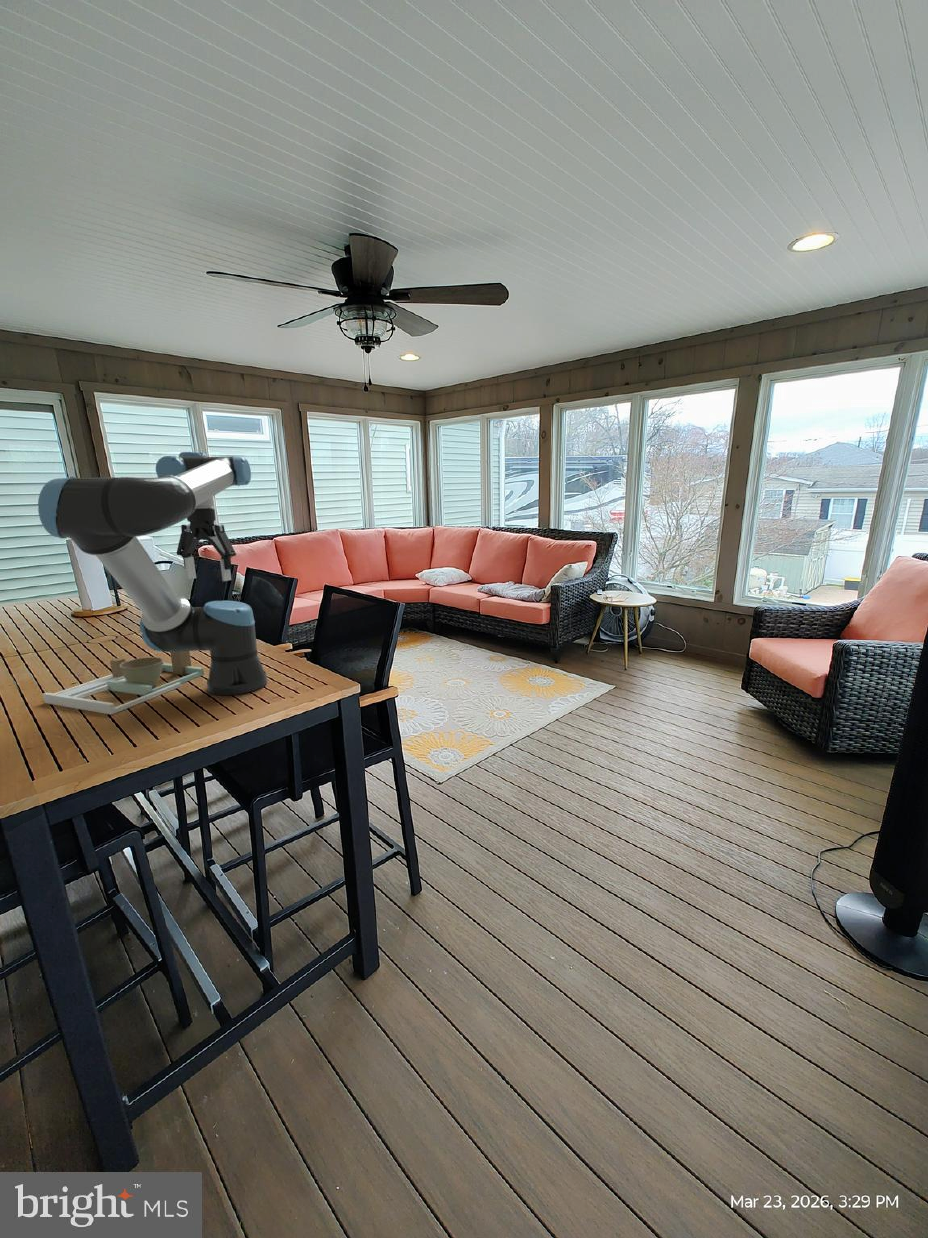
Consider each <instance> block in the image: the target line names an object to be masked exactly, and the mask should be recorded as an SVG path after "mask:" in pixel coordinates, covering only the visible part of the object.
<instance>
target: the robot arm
mask: <svg viewBox="0 0 928 1238" xmlns="http://www.w3.org/2000/svg"><path fill="white" fill-rule="evenodd" d="M155 473H156V475H157V477H133V476H132V477H130V476H121V477H117V476H115V477H112V476H110V477H76V476H68V477H61V478H53V479H51V480H49V481H47V482H46V483H45V484H44V485H43V487H42V488H41V491H40V492H39V496H38V501H37V506H38V508H37V512H38V516H39V520H40V522H41V525H42V526H43V528H44V529H45V531H46V532H47V533H48V534H49V535H51V536H52V537H55V538H59V539H67V538H69V539H70V540H72V542H74V544H75V545H76V546H77V547H78V548H79V549H80V551H81V552H82V553H85V554H87V555H91V556H96V557H97V559H98V560H99V561H100V563H101V564H102V565H103V566H104V568H106V570H107V571H108V573H109V574H110V575H111V576H112V577H113V579H114V580H115V581H116V583H117V584H118V585H119V586H120V587H121V589H123V591H124V592H125V593H126V595H127V596H128V597H129V598H130V599H131V601H132V603H134V604H135V605H136V607H137V608H138V609H139V610H140V611H141V613H142V615H141V617H140V618H141V619H140V620H139V632H140V633H142V634H141V638H142V641H143V642H144V643H145V645H146V646H147V647H149V648H150V649H151V650H154V651H157V652H166V653H170V652H174V651H189V652H195V651H197V652H198V651H199V652H200V651H203V652H204V651H208V652H209V654H210V655H209V656H210V661H211V662H210V667H209V674H208V678H207V679H206V687H207V692H208V693H210V694H212V695H216V696H235V695H236V696H237V695H243V694H246V693H251V692H254V691H257V690H259V689H261V688H263V687H265V686H266V685H267V684H268V676H267V675H268V674H267V672H266V671H265V670H264V668H263V665H262V662H261V660H260V658H259V653H258V646H257V637H256V635H257V634H256V627H255V626H256V625H255V623H256V620H255V618H254V612H253V609H252V607H251V605H249V604H247V603H246V602H245V603H244V602H242V601H241V602H240V601H236V600H211V601H208V602H206V603H205V604H204V605H203V607H201V606H199V607H198V606H197V607H193V606H192V605H191V603H190V602H189V600H188V598H186V597H185V596H182V595H178V594H176V592H175V591H174V590H173V588H172V587H171V585H170V584H169V582H168V580H166V578H165V576H164V575H163V574H162V572H161V571H160V569H159V568H158V566H157V565H156V564H155V562H154V561H153V559H152V558H151V556H150V555H149V553H148V552H147V551H146V549H145V548H144V546H143V545H142V544H141V542H140V540H139V539H138V538H137V537H142V536H147V535H150V534H154V533H157V532H160V531H163V530H166V529H167V528H171V527H172V526H175V525H177V524H179V523H181V522H183V521H184V520H186V521H187V522H189V524H187V523H186V524H181V526H180V527H181V533H180V537H179V540H178V544H177V549H176V555H177V556H180V557H182V559H183V566H184V568H185V573H186V580H193V579H197V573H196V567H195V559H194V558H195V557H194V556H193V555H192V554H193V553H194V551H195V549H196V547H197V545H198V544H199V541H202V540H203V541H207V542H209V543H210V544H211V545H212V546H213V548H214V550H215V551H216V552H217V553H218V554H219V556H220V558H219V562H220V571H221V577H222V579H221V580H222V582H228V581H232V573H231V569H232V558H233V557H236V556H237V552H236V550H235V548H234V547H233V545H232V542H231V540H230V539H229V537H228V535H227V533H226V530H225V529H226V528H225V526H224V524H222V523H219V524H215V521H216V520H217V518H216V510H215V509H214V508H213V507H214V506H215V504H214V496H216V495H217V494H219V493H221V492H223V491H225V490H226V489H228V488H230V487H232V486H238V487H240V486H247V485H250V482H251V479H252V472H251V466H250V463H249V461H248V459H246V458H245V457H243V456H234V455H232V456H208V455H207V453H204V452H199V451H181V452H180V453H179V455H178V456H176V455H164V456H162V457H160V458H159V459H158V460H157V461H156V464H155Z"/></svg>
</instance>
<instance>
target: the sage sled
mask: <svg viewBox="0 0 928 1238" xmlns="http://www.w3.org/2000/svg"><path fill="white" fill-rule="evenodd" d="M190 652H191V651H174V652H169V653H170V660H171V663H167V662H165V663H163V665H162V671H161V673H163V672H170V673H173V675H179V676H183V675H185V676H183V677H180V678H178V679H175V680H172V681H169V682H167V683H164V684H162V685H159V686H157V687H156V686H155V687H153V688H152V686H150V685H143V684H136V683H129V682H127V680H123V681H115V680H109V681H107V686H108V689H107V690H108V691H112V692H118V693H119V692H120V693H125V694H133V695H138V696H145V695H148V694H150V693H153V692H155V691H158V690H160V689H163V688H165V687H168V686H170V685H173V684H175V683H178V682H179V683H181V684H184V683H187V682H190V681H191V680H193V679H196V678H199V677H201V676H203V675H205V671H204V667H198V666H192V659H191V653H190Z"/></svg>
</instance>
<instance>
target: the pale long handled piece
mask: <svg viewBox="0 0 928 1238" xmlns="http://www.w3.org/2000/svg"><path fill="white" fill-rule="evenodd" d="M123 662H126V659H125V658H123V657H122V658H121V657H117V658H114V659H110V660H109V663H110V669H111V674H112V675H113V676H110V677H107V678H104V679H101V680H98V681H95V682H92V683H89V684H86V685H83V686H80V687H77V688H74V689H71V690H68V691H65V692H62V693H59V694H60V695H66V696H75V695H78V694H81V693H84V692H87V691H90V690H93V689H95V688H98V687H101V686H104V685H107V681H109V680H115V681H118V680H121V679H124V678H125V677H124V676H123V674H122V672H121V669H120V664H122V663H123Z"/></svg>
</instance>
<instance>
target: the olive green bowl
mask: <svg viewBox="0 0 928 1238" xmlns="http://www.w3.org/2000/svg"><path fill="white" fill-rule="evenodd" d="M163 662H164V660H163V658H161V657H156V656H155V657H154V656H153V657H152V656H151V657H150V656H149V657H147V656H146V657H139V658H134V659H131V660H127V661H126V660H125V662H123V663H122V664H120V669H121V672H122V674H123V676H124V677H125V679H126V680H127V682H129V683H136V684H143V685H150V686H152V689H154V688H156V686H157V684H158V682H159V679H160V677H161V675H162V672H161V671H162V665H163V664H164V663H163Z"/></svg>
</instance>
